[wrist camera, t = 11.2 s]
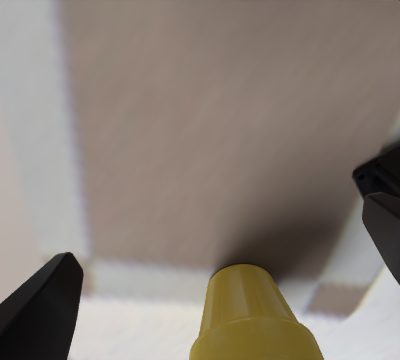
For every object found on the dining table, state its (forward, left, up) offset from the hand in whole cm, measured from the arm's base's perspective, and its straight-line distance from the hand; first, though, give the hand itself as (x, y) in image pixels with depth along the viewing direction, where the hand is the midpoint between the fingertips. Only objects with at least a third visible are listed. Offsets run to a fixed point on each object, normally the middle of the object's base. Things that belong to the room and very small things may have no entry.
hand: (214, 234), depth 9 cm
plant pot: (-17, +7, -12) cm, 22 cm away
